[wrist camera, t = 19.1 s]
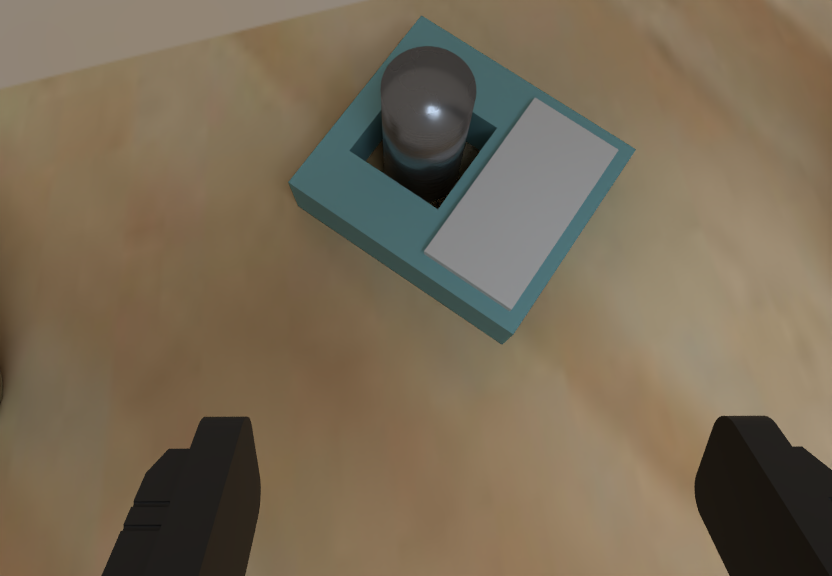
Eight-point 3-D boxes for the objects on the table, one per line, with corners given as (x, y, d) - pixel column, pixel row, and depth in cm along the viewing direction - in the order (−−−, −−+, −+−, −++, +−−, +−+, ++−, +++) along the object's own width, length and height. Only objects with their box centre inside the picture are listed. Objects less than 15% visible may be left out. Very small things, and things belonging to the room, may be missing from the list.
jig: (614, 175, 44) (639, 145, 39) (502, 344, 41) (515, 332, 36) (419, 52, 45) (421, 9, 41) (298, 205, 42) (286, 178, 38)
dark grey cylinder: (473, 159, 44) (494, 78, 34) (431, 217, 43) (441, 150, 33) (412, 120, 44) (416, 29, 34) (369, 176, 43) (361, 99, 33)
